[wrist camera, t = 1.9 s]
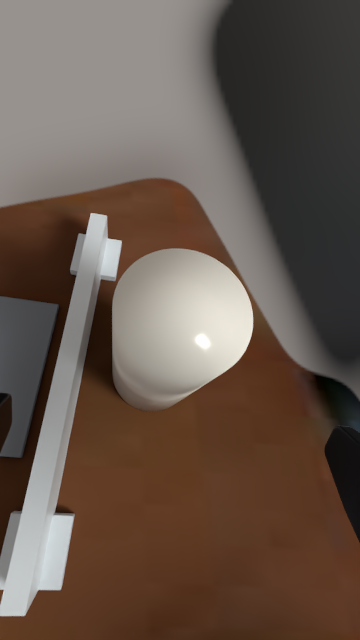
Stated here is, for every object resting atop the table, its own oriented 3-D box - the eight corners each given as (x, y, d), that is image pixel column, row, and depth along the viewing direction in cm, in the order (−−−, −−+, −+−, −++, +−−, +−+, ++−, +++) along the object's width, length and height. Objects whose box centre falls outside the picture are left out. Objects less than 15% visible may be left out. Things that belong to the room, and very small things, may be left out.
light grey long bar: (62, 584, 15) (51, 615, 12) (-3, 584, 15) (-30, 616, 12) (121, 245, 23) (122, 218, 20) (79, 238, 22) (74, 209, 20)
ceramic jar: (187, 415, 19) (254, 389, 10) (106, 407, 19) (100, 372, 9) (192, 339, 21) (251, 261, 12) (118, 329, 20) (123, 237, 11)
